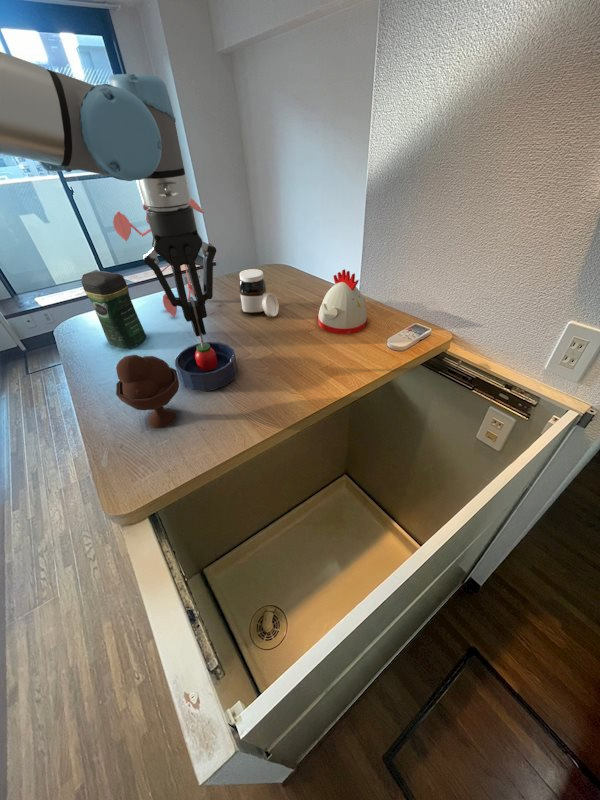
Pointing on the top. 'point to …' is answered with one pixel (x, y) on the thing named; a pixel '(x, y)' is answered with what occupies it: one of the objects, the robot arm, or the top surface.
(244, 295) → the spread jar
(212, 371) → the dessert bowl
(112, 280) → the coffee jar
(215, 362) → the red candy apple
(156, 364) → the ice cream bowl
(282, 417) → the top surface
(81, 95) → the robot arm
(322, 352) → the top surface
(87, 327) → the top surface
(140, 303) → the top surface
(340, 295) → the kitchen timer
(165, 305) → the figurine
